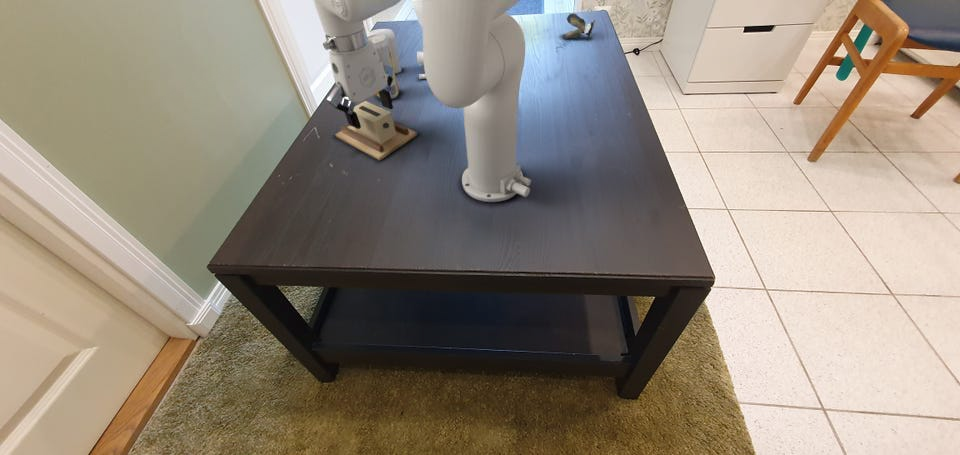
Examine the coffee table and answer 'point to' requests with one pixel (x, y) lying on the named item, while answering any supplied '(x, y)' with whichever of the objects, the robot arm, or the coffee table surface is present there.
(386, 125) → the toaster
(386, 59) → the beer can
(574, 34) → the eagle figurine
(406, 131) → the cradle
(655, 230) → the coffee table surface
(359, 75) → the robot arm
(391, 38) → the white curved piece
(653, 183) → the coffee table surface
